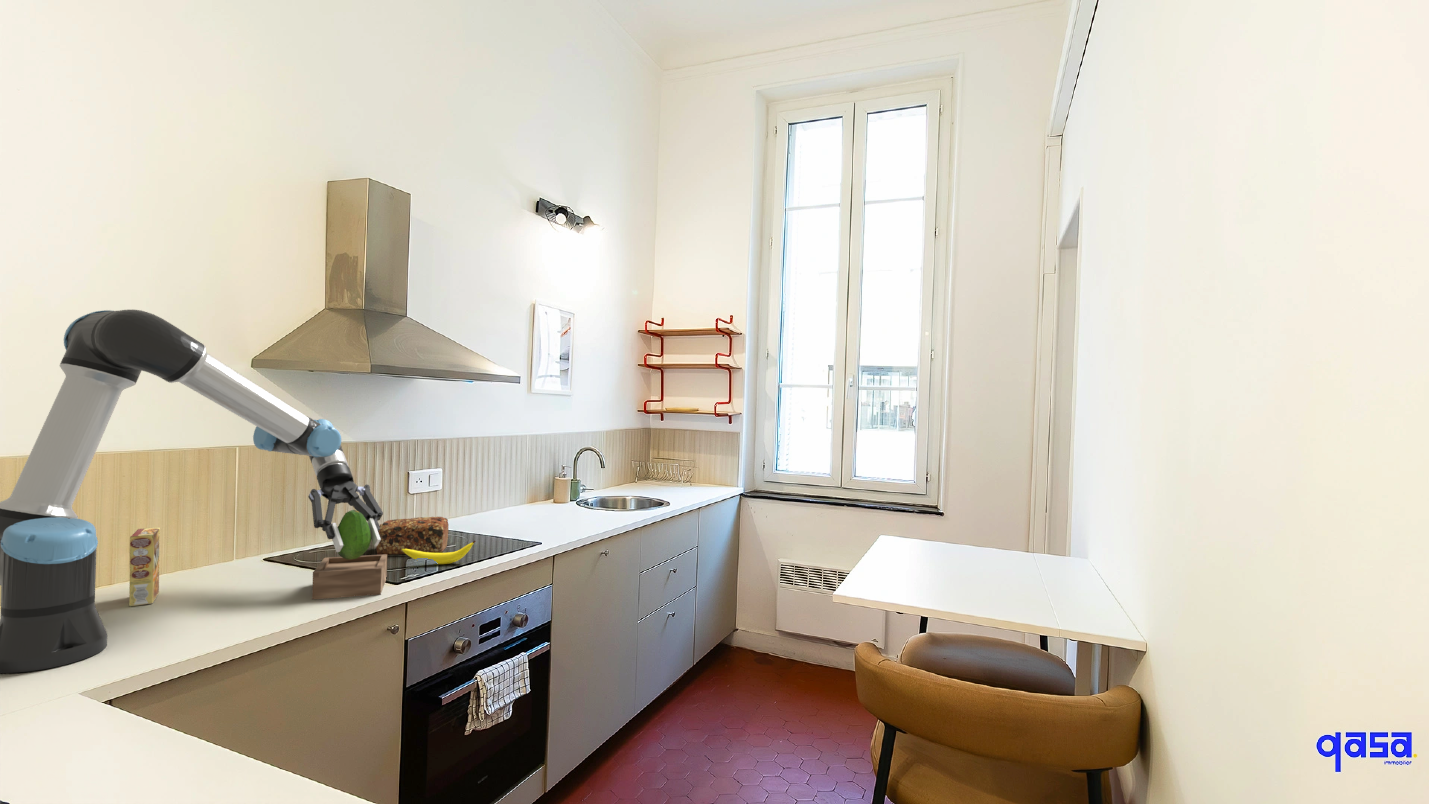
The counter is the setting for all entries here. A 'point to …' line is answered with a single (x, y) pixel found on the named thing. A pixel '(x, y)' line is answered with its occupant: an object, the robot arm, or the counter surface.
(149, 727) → the counter surface
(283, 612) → the counter surface
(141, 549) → the candy box
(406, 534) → the bread
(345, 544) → the avocado
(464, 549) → the banana
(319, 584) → the walnut wooden box
